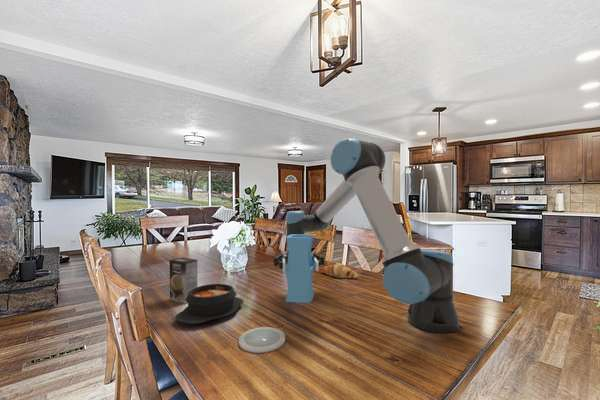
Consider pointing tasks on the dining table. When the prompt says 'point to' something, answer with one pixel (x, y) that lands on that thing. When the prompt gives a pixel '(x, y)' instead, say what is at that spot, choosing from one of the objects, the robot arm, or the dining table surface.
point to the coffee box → (182, 278)
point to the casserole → (209, 303)
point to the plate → (261, 339)
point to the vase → (299, 268)
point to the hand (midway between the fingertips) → (300, 267)
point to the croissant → (339, 271)
